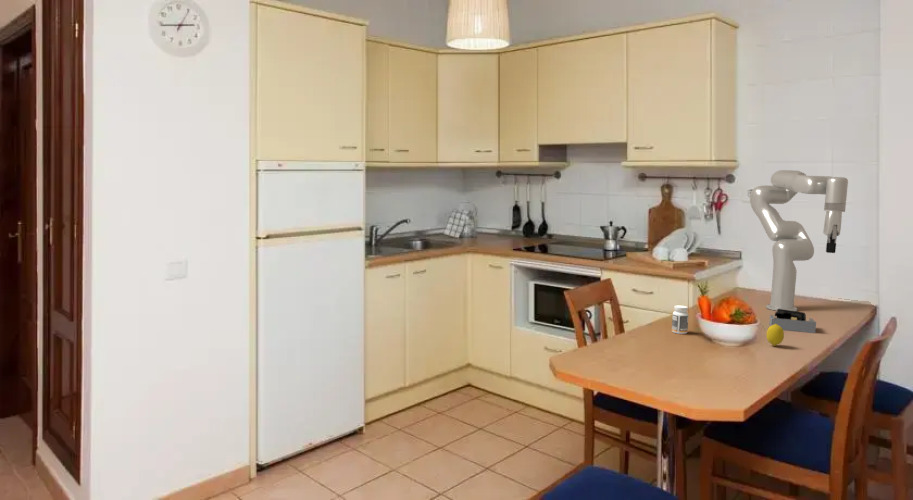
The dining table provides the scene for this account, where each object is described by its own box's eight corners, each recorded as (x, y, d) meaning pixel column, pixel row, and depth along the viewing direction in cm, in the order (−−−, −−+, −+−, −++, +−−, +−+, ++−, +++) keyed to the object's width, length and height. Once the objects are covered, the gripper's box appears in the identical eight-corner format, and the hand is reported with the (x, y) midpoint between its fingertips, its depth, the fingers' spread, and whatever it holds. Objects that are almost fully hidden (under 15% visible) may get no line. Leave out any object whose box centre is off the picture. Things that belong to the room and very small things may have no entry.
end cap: (805, 328, 270) (806, 311, 269) (799, 331, 265) (801, 314, 264) (778, 324, 277) (780, 307, 276) (772, 326, 271) (774, 310, 271)
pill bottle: (687, 331, 258) (689, 305, 257) (687, 335, 253) (689, 308, 251) (671, 330, 260) (673, 304, 259) (671, 333, 254) (672, 307, 253)
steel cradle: (769, 323, 276) (770, 311, 275) (811, 327, 271) (812, 314, 270) (771, 328, 267) (772, 315, 266) (815, 333, 262) (816, 319, 261)
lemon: (762, 344, 242) (764, 321, 241) (777, 344, 243) (779, 322, 242) (770, 348, 237) (772, 325, 236) (786, 348, 237) (788, 325, 236)
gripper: (821, 206, 285) (817, 250, 287) (827, 208, 271) (823, 253, 273) (841, 207, 282) (837, 251, 284) (848, 209, 268) (844, 255, 270)
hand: (830, 252), depth 279 cm, fingers closed
